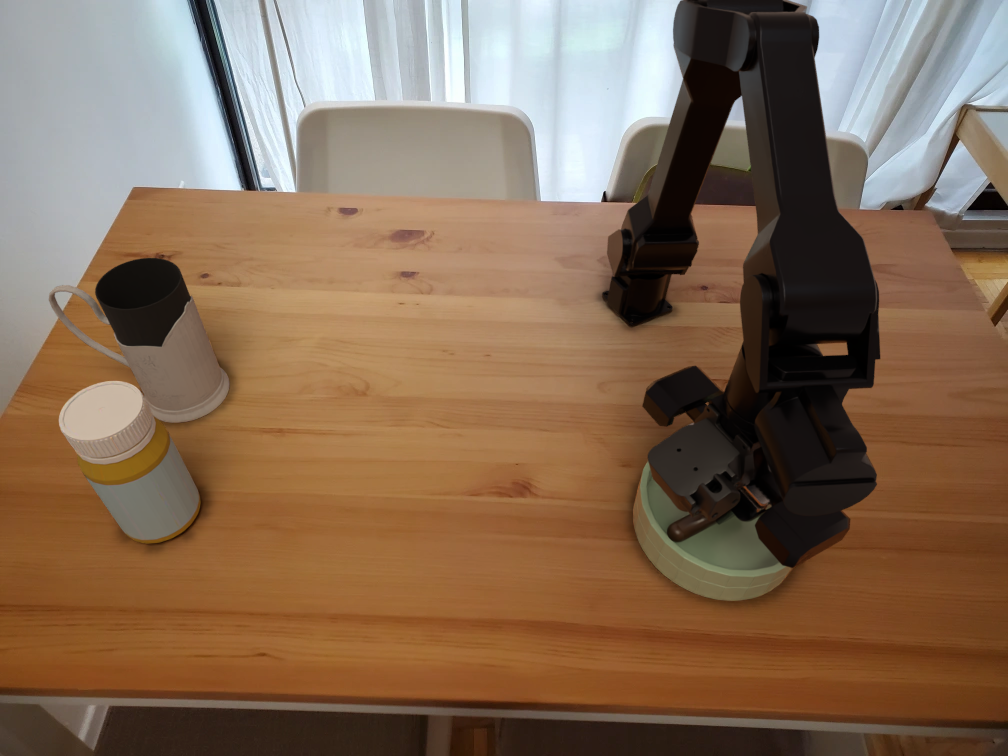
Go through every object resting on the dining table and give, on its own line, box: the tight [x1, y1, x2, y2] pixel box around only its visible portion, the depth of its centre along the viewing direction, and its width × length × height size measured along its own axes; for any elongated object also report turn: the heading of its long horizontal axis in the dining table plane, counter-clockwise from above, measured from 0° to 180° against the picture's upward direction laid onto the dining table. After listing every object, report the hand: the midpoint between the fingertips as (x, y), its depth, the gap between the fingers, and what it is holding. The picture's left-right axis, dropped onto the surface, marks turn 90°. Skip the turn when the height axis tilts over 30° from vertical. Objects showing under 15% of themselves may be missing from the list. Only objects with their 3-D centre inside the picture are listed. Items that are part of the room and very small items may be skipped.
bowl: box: [632, 461, 794, 602], centre depth 66 cm, size 15×15×4 cm
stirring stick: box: [667, 514, 717, 543], centre depth 65 cm, size 10×2×2 cm, turn 119°
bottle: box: [58, 380, 202, 544], centre depth 61 cm, size 7×7×15 cm
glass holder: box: [48, 257, 231, 424], centre depth 72 cm, size 9×14×15 cm, turn 85°
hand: (713, 512), depth 65 cm, fingers closed on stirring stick, 2 cm apart
